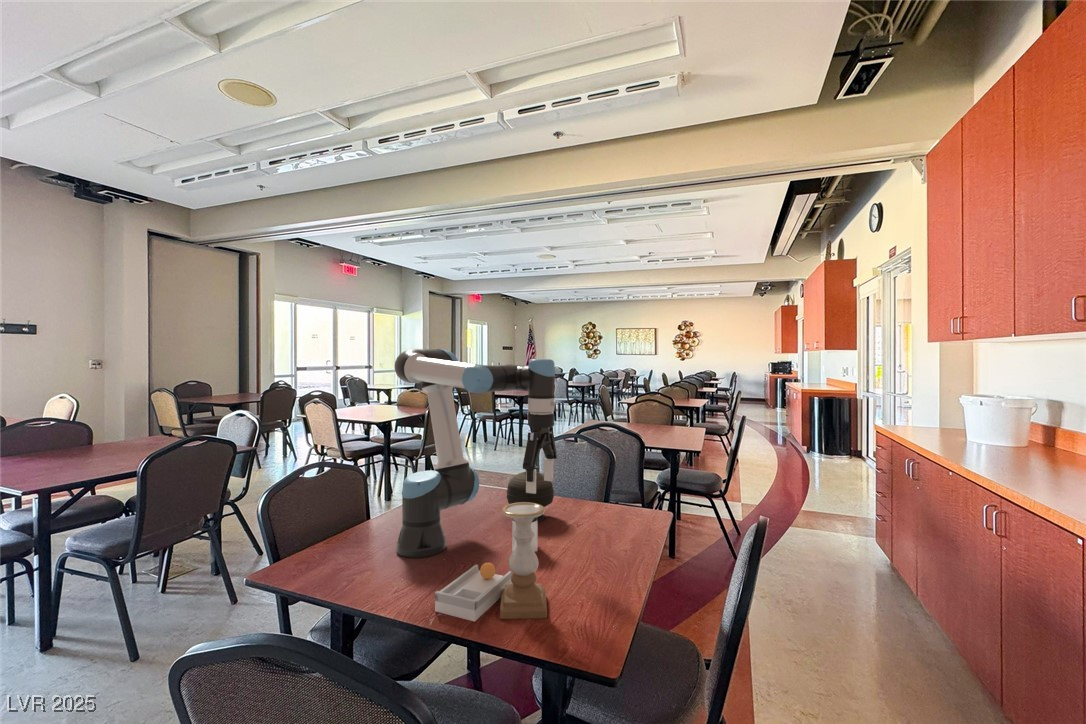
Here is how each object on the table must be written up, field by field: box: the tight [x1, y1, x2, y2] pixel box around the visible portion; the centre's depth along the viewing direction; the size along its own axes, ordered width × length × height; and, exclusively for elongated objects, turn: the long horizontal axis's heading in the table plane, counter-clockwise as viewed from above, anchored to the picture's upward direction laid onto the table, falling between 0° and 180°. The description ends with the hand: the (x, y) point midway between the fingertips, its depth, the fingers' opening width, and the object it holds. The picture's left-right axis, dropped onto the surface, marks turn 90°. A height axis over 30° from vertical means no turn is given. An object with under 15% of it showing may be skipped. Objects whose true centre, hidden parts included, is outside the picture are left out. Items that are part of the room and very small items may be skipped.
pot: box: [506, 465, 555, 522], centre depth 179 cm, size 18×18×20 cm
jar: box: [511, 517, 539, 553], centre depth 150 cm, size 9×8×12 cm
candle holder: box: [499, 502, 548, 620], centre depth 115 cm, size 11×11×24 cm
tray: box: [434, 564, 513, 622], centre depth 118 cm, size 11×18×4 cm, turn 156°
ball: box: [479, 562, 496, 579], centre depth 124 cm, size 4×4×4 cm
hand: (540, 486), depth 136 cm, fingers open, 13 cm apart
